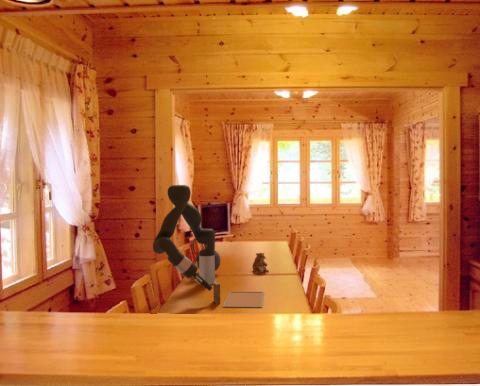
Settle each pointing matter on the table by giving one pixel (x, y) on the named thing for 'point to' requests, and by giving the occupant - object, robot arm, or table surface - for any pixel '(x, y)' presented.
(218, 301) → the walnut tile
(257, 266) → the brown bear figurine
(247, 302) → the picture frame
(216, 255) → the pitcher
